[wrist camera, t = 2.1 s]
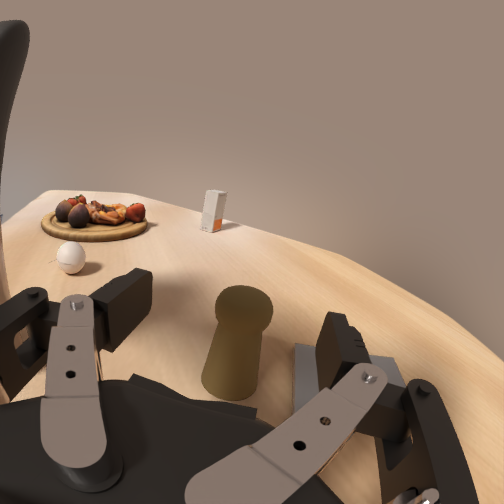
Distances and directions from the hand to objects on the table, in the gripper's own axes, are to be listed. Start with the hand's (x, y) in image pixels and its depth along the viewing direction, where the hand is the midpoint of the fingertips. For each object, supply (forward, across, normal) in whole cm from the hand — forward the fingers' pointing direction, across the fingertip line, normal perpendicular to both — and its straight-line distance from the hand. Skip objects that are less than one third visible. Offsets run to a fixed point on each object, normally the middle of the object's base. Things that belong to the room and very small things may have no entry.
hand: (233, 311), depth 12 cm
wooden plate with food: (+50, +48, +15) cm, 71 cm away
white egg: (+22, +32, +15) cm, 42 cm away
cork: (+12, 0, +16) cm, 19 cm away
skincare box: (+70, +18, +15) cm, 73 cm away
